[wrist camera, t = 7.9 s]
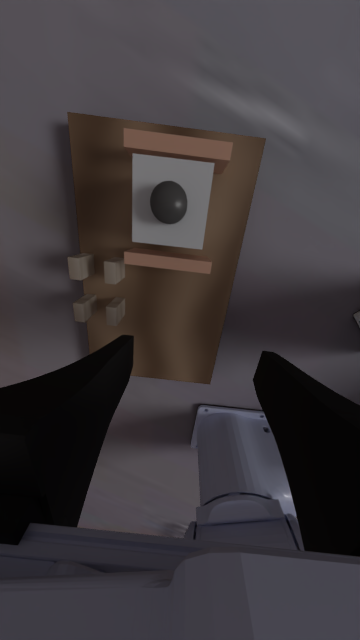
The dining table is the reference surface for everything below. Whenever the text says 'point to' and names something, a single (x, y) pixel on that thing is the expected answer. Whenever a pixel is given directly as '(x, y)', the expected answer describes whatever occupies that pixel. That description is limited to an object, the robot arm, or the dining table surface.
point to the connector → (170, 200)
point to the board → (149, 282)
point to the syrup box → (357, 317)
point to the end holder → (180, 150)
